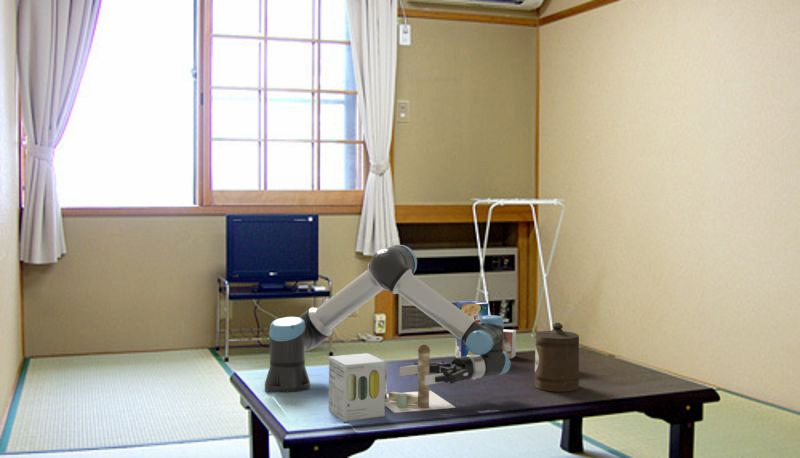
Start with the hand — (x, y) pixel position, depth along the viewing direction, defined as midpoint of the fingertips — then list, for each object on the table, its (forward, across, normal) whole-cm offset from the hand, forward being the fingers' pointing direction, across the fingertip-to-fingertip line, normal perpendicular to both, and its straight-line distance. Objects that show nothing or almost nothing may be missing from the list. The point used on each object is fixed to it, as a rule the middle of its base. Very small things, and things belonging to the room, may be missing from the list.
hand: (412, 375), depth 279 cm
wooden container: (-59, -1, -11) cm, 60 cm away
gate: (-2, +5, -10) cm, 11 cm away
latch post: (+1, +4, -10) cm, 11 cm away
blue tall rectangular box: (-63, +50, -11) cm, 81 cm away
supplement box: (+17, +5, -11) cm, 21 cm away
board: (-6, +7, -11) cm, 14 cm away
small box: (-76, +46, -11) cm, 90 cm away
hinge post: (+2, +14, -10) cm, 17 cm away
